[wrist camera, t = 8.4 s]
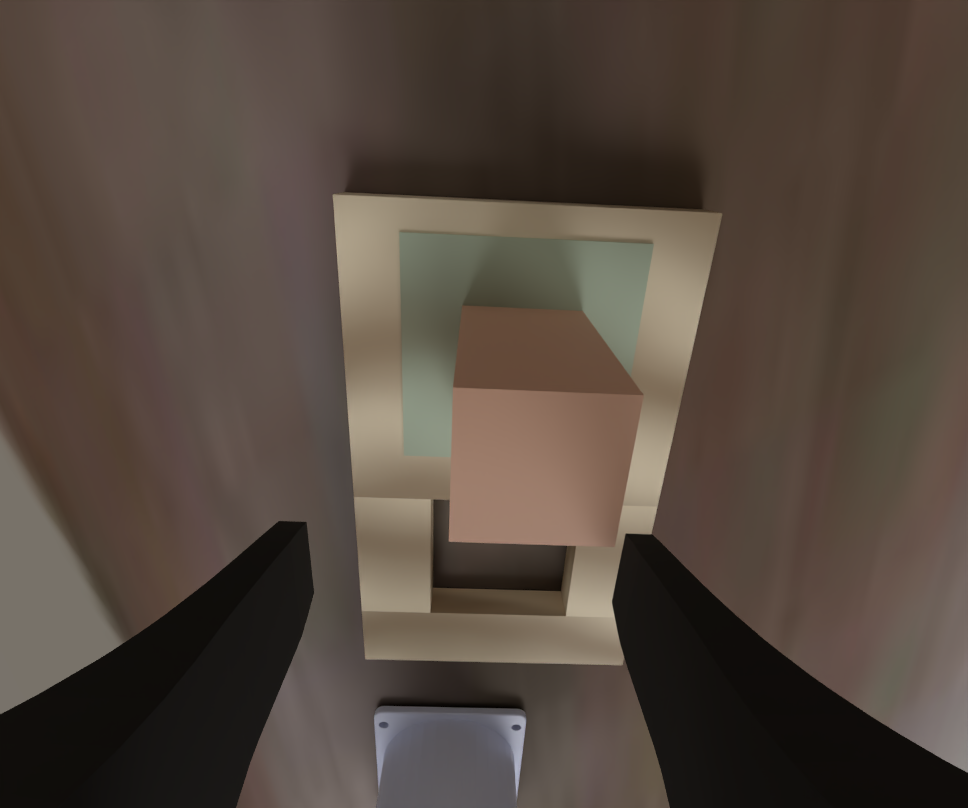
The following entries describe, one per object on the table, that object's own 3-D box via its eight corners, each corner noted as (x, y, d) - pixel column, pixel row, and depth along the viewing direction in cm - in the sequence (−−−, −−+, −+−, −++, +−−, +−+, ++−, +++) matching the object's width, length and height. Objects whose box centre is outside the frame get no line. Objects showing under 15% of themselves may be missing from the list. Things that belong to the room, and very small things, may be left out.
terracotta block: (568, 419, 19) (614, 546, 13) (458, 414, 19) (448, 541, 12) (582, 310, 17) (643, 395, 11) (462, 305, 17) (453, 387, 11)
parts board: (614, 638, 26) (622, 666, 24) (371, 632, 25) (364, 661, 24) (703, 209, 17) (724, 213, 16) (344, 192, 17) (331, 194, 16)
